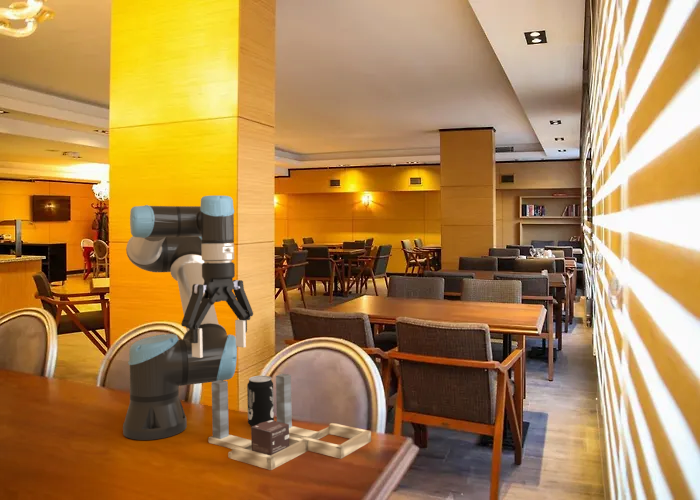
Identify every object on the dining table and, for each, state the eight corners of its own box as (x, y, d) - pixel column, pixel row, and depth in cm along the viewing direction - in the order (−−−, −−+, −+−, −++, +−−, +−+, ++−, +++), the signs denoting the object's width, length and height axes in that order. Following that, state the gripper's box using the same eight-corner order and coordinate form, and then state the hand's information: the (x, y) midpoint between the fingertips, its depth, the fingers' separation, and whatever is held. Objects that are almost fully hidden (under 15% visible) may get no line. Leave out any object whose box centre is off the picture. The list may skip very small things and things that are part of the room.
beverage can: (268, 429, 144) (268, 382, 144) (244, 428, 145) (243, 381, 145) (277, 421, 151) (276, 375, 150) (253, 419, 152) (252, 374, 152)
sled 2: (261, 438, 138) (260, 379, 137) (294, 424, 148) (293, 369, 148) (341, 458, 125) (340, 393, 125) (371, 441, 135) (370, 381, 135)
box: (270, 466, 122) (270, 432, 121) (250, 460, 125) (250, 426, 125) (290, 457, 126) (289, 424, 126) (270, 451, 130) (270, 419, 130)
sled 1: (194, 448, 132) (193, 386, 132) (233, 432, 143) (232, 375, 142) (271, 470, 119) (269, 402, 119) (307, 450, 130) (306, 388, 129)
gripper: (186, 264, 123) (188, 363, 124) (266, 259, 143) (268, 344, 144) (163, 264, 127) (165, 359, 128) (244, 259, 148) (246, 341, 148)
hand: (220, 351), depth 136 cm, fingers open, 13 cm apart
